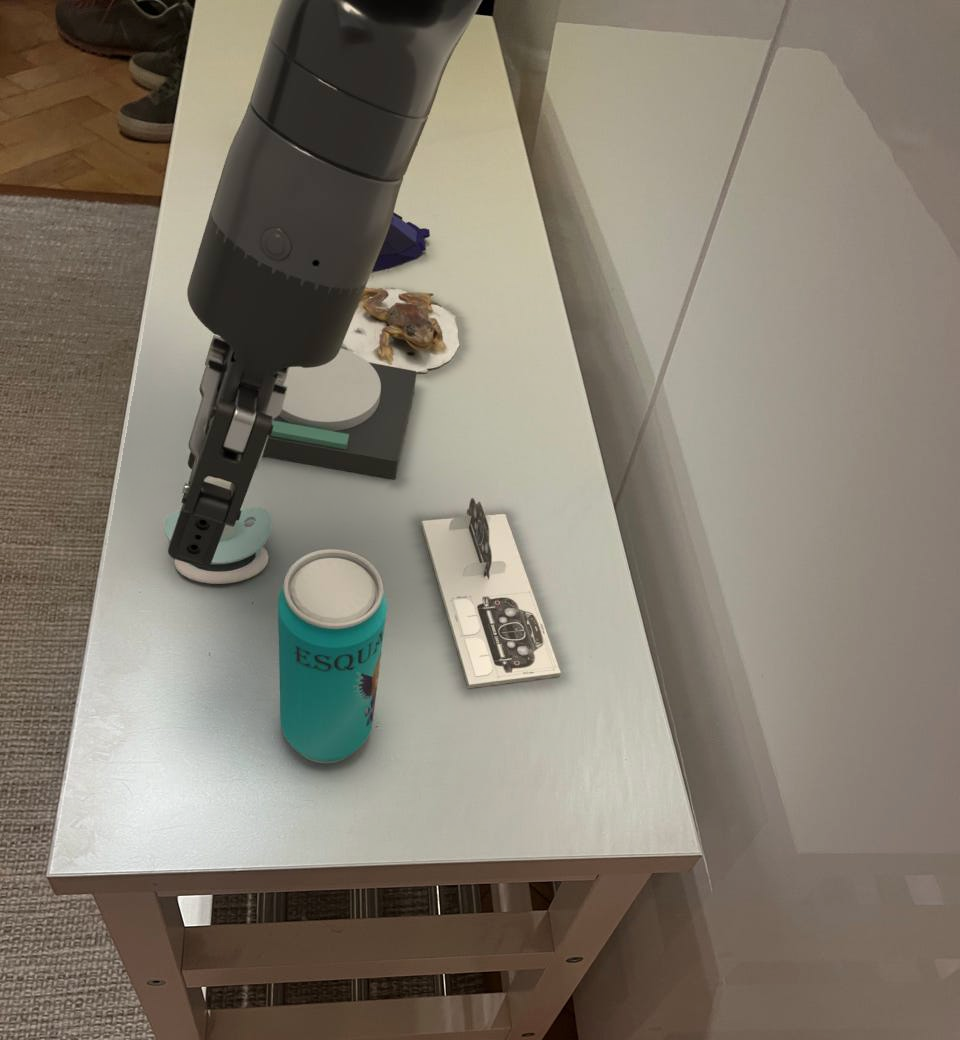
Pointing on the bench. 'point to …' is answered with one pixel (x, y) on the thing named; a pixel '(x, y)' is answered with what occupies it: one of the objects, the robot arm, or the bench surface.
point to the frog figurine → (402, 330)
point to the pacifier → (231, 545)
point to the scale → (344, 416)
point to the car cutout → (488, 599)
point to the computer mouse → (401, 244)
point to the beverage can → (329, 653)
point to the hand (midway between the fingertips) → (197, 512)
